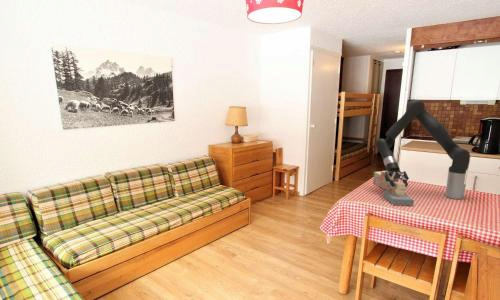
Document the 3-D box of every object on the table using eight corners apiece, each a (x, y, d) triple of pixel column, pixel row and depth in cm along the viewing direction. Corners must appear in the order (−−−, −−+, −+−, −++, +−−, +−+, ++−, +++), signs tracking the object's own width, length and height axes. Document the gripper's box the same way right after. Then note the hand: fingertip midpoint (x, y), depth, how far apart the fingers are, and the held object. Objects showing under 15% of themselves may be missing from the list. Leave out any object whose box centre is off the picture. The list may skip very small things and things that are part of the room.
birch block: (391, 193, 178) (392, 181, 176) (399, 193, 178) (400, 181, 177) (396, 196, 173) (397, 184, 172) (404, 196, 173) (405, 184, 172)
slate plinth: (401, 197, 184) (402, 191, 183) (413, 206, 168) (413, 199, 167) (382, 196, 185) (383, 190, 184) (392, 205, 169) (393, 199, 168)
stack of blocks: (372, 183, 215) (374, 167, 213) (380, 182, 216) (381, 167, 214) (389, 192, 194) (390, 175, 192) (397, 191, 195) (399, 175, 193)
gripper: (383, 161, 179) (392, 183, 170) (404, 161, 180) (414, 183, 171) (378, 167, 185) (386, 189, 176) (398, 167, 186) (407, 188, 177)
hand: (400, 186), depth 173 cm, fingers open, 8 cm apart
